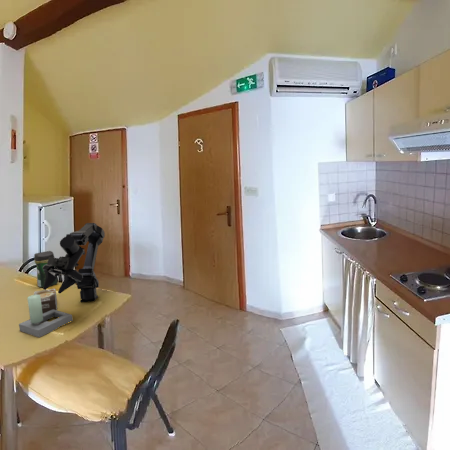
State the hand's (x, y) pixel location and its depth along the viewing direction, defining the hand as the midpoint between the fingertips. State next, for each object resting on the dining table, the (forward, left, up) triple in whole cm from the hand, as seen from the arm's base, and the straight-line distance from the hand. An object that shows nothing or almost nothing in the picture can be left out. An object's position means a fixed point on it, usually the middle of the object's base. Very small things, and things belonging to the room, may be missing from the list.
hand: (51, 291), depth 139 cm
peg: (+4, +6, -14) cm, 16 cm away
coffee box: (+13, -21, -10) cm, 27 cm away
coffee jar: (+24, -45, -14) cm, 53 cm away
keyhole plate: (+2, +3, -14) cm, 14 cm away
